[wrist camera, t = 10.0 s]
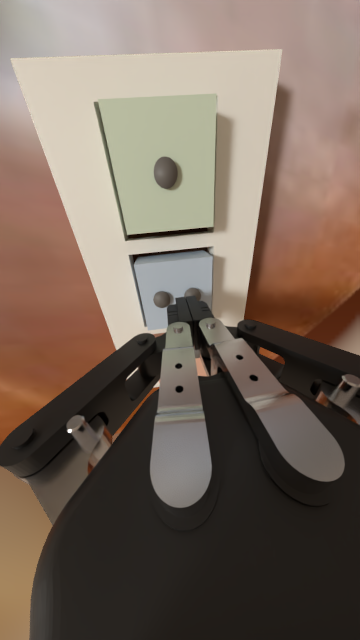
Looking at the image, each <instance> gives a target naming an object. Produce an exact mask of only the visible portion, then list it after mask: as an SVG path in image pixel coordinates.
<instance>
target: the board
mask: <svg viewBox="0 0 360 640" xmlns="http://www.w3.org/2000/svg"><path fill="white" fill-rule="evenodd" d="M281 56H282V49H274V50H244V51H215V52H186V53H156V54H127V55H97V56H68V57H39V58H10V60H11V63H12V65H13V68H14V71H15V74H16V76H17V79H18V82H19V85H20V87H21V90H22V93H23V96H24V98H25V101H26V104H27V106H28V109H29V112H30V115H31V117H32V120H33V123H34V126H35V128H36V131H37V134H38V137H39V139H40V142H41V145H42V147H43V150H44V153H45V156H46V158H47V161H48V164H49V167H50V169H51V172H52V175H53V178H54V180H55V183H56V186H57V188H58V191H59V194H60V197H61V199H62V202H63V205H64V208H65V210H66V213H67V216H68V219H69V221H70V224H71V227H72V229H73V232H74V235H75V238H76V240H77V243H78V246H79V249H80V251H81V254H82V257H83V260H84V262H85V265H86V268H87V270H88V273H89V276H90V279H91V281H92V284H93V287H94V290H95V292H96V295H97V298H98V301H99V303H100V306H101V309H102V311H103V314H104V317H105V320H106V322H107V325H108V328H109V331H110V333H111V336H112V339H113V342H114V344H115V347H116V350H118V349H119V348H120V347H122V346H123V345H124V344H125V343H127V342H128V341H129V340H131V339H132V338H133V337H135V336H136V335H138V334H142V333H150V334H158V333H165V332H166V331H167V328H164V329H156V330H149V331H148V328H147V324H146V319H145V314H144V310H143V305H142V301H141V296H140V291H139V287H138V282H137V278H136V273H135V268H134V260H133V254H142V253H152V252H162V251H172V250H181V249H191V248H201V247H208V254H210V255H211V256H213V263H212V305H211V312H212V314H213V315H214V317H215V318H216V319H219V320H220V321H221V322H222V323H223V324H224V325H225V326H230V327H237V324H238V323H239V322H240V321H242V320H244V314H245V307H246V300H247V293H248V286H249V279H250V272H251V265H252V258H253V251H254V244H255V237H256V230H257V223H258V216H259V209H260V202H261V195H262V188H263V181H264V174H265V168H266V161H267V154H268V147H269V140H270V133H271V126H272V119H273V112H274V105H275V98H276V91H277V84H278V77H279V70H280V63H281ZM216 93H217V96H216V138H215V180H214V222H213V227H208V231H203V232H193V233H182V234H172V235H162V236H151V237H141V238H131V239H129V237H128V235H127V232H126V227H125V222H124V218H123V213H122V209H121V204H120V199H119V195H118V190H117V186H116V181H115V176H114V172H113V167H112V163H111V158H110V154H109V149H108V144H107V140H106V135H105V131H104V126H103V121H102V117H101V112H100V108H99V103H98V99H113V98H134V97H154V96H175V95H195V94H216ZM137 369H138V367H137V368H136V369H135V370H134V371H133V372H132V373H131V374H130V375H129V376H128V377H127V379H128V378H129V377H130V376H131V375H132V374H133V373H134V372H135V371H136V370H137ZM154 387H160V383H159V381H158V382H157V383H156V384H155V386H154Z"/></svg>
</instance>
